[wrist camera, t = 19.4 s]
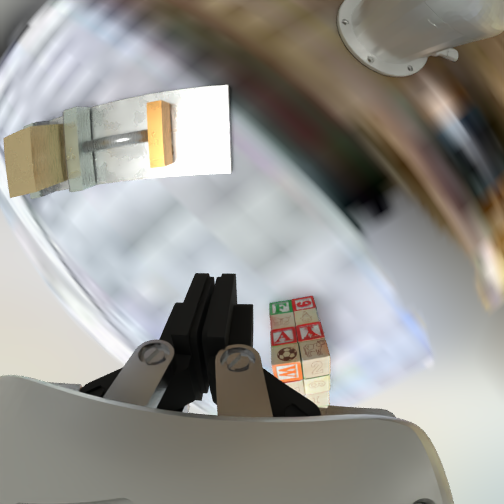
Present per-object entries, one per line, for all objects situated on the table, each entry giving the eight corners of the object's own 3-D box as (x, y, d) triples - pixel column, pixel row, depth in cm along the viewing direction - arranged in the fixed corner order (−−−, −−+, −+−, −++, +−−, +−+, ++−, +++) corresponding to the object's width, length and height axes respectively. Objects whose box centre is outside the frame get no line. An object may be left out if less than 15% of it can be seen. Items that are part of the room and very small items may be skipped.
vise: (229, 87, 28) (224, 79, 23) (231, 171, 32) (227, 176, 27) (43, 124, 28) (23, 126, 24) (49, 190, 32) (30, 198, 28)
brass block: (76, 123, 27) (29, 126, 19) (80, 175, 30) (36, 191, 22) (49, 131, 27) (3, 137, 19) (53, 180, 30) (10, 197, 22)
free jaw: (169, 90, 26) (160, 86, 23) (173, 176, 30) (165, 181, 27) (74, 112, 26) (60, 111, 24) (80, 187, 30) (67, 192, 28)
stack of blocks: (319, 389, 46) (329, 444, 35) (285, 394, 47) (290, 450, 36) (312, 294, 38) (331, 356, 27) (267, 301, 39) (271, 366, 27)
